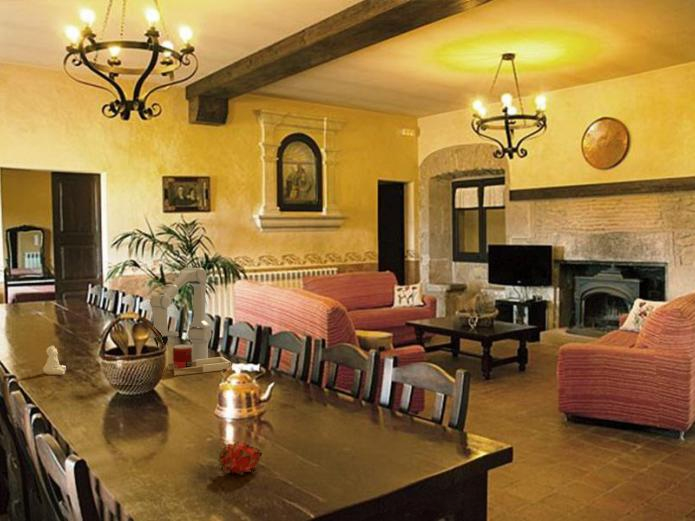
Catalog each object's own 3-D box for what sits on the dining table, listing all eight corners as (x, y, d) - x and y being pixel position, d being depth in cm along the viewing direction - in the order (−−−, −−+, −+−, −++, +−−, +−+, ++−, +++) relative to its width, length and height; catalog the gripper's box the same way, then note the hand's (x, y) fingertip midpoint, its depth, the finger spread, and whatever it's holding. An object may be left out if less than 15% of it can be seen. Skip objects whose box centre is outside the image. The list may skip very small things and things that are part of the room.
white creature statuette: (64, 374, 255) (63, 346, 254) (42, 376, 251) (41, 348, 251) (66, 369, 263) (65, 342, 263) (44, 371, 260) (43, 344, 260)
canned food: (189, 373, 256) (189, 347, 255) (171, 373, 256) (170, 347, 256) (194, 369, 264) (194, 344, 263) (176, 369, 264) (176, 344, 263)
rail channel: (167, 369, 263) (167, 363, 263) (195, 366, 269) (195, 360, 269) (174, 375, 252) (174, 369, 252) (203, 372, 258) (202, 366, 257)
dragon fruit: (214, 483, 149) (258, 479, 155) (227, 472, 143) (272, 468, 150) (210, 449, 153) (253, 446, 160) (222, 437, 148) (266, 435, 154)
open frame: (195, 366, 269) (195, 359, 269) (222, 363, 275) (222, 356, 275) (203, 372, 258) (202, 365, 257) (231, 369, 264) (231, 362, 263)
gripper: (144, 325, 247) (145, 358, 248) (180, 322, 254) (180, 354, 255) (141, 323, 254) (142, 355, 254) (176, 320, 261) (176, 351, 261)
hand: (161, 354), depth 255 cm, fingers closed
